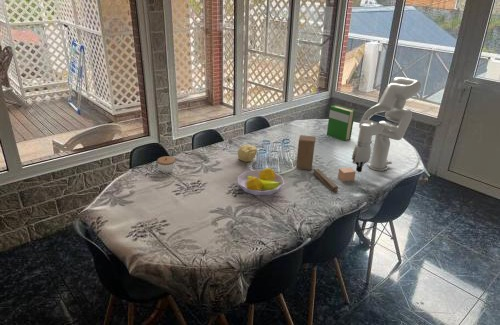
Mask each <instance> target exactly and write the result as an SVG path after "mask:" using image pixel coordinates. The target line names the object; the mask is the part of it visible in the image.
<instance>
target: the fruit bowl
mask: <svg viewBox="0 0 500 325" xmlns="http://www.w3.org/2000/svg"><path fill="white" fill-rule="evenodd" d="M237 183H238V185H239V186H240V188H241V189H242V190H243V192H244V193H248V194H251V195H255V196H271V195H274V194H275V193H277V192H280V190H282V188H283V186H284V185H285V182H284V178H283V176H282V175H280V174H278V173H276V172H275V170H273V169H272V168H270V167H267V168H265V169H254V170H253V169H252V170H246V171H244V172H243V173H241V174H240V175H238V176H237Z"/></svg>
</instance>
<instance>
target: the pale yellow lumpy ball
mask: <svg viewBox="0 0 500 325" xmlns="http://www.w3.org/2000/svg"><path fill="white" fill-rule="evenodd" d="M257 151H258V149H257V147H256V146H255V145H254V146H253V145H251V144H244V145H240V147H239V149H238V151H237V157H238V159H239V160H240V161H242V162H244V163H247V162H248V163H250V162H252V161H253V160H254V159H255V157H256V155H257V154H258V152H257ZM256 153H257V154H256Z"/></svg>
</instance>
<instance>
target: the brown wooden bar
mask: <svg viewBox="0 0 500 325" xmlns="http://www.w3.org/2000/svg"><path fill="white" fill-rule="evenodd" d="M313 174H314V175H315V176H316V177H317V179H318V180H320V181H321V182H322V183H323V184H324V185H325V186H326V187H327V188H328V189H329V190H330V191H331V193H332V192H334V193H335V192H338V189H339V186H338V185H337V184H336V183H335V182H334V181H333V180H331V179H330V177H328V176H327V175H326V174H325V173H324V172H323V171H322V170H321V169H319V168H314V169H313Z"/></svg>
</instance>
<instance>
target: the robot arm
mask: <svg viewBox="0 0 500 325" xmlns="http://www.w3.org/2000/svg"><path fill="white" fill-rule="evenodd" d="M421 87H422V83H421V81H420V80H418V79H414V78H413V79H412V78H407V77H403V76H402V77H401V76H396V77H394V78H393V79H392V82H391V83H389V84H387V85H386V87H385V89H384V91H383V93H382V95H381V97H380V99H379V101H378V102H377V103H376V104H375V105H373V106H371V107H370V108H368V109H367V110H366V111H365V112H364V114H363V115H362V117H361V119H360V122H359V125H358V127H359V132H358V138H357V141H356V142H357V144H355V147H353V148H354V149H353V152H352V155H351V160H352V161H351V162H352V164H354V165H356V169H355V170H356V171H355V172H358V173H362V171H363V167H364V166H365V164H367V167H368V168H369V169H371V170H374V171H378V172H383V171H384V170H385V171H387V170H388V167H389V166H388V165H392V164H393V161H391V160H390V161H388V157H389V151H390V146H391V141H390V140H395V141H401V140H402V139H403V137H404V136H405V133H406V131H407V129H408V127H409V125H410V123H411V122H412V118H413V112H412V110H410V109H408V108H406V107H405V105H406V103H407V100H408V99H410V98H412V97H414V96H416V95H417V94H418V93H419V91H420V90H421ZM404 107H405V108H404ZM384 112H385V113H384ZM379 113H384V118H385V119H386V120H379V121H375V120H372V119H371V118H372V117H373V116H374V115H376V114H379ZM387 120H388V121H387ZM393 122H394V123H393ZM372 136H375V138H374V144H373V148H371V144H372V143H373V142H372V138H373V137H372ZM371 149H372V150H371ZM371 152H372V154H371ZM370 158H371V159H370Z"/></svg>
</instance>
